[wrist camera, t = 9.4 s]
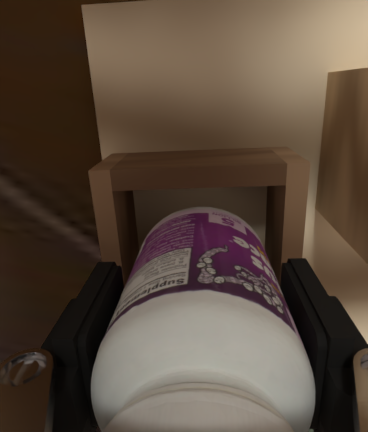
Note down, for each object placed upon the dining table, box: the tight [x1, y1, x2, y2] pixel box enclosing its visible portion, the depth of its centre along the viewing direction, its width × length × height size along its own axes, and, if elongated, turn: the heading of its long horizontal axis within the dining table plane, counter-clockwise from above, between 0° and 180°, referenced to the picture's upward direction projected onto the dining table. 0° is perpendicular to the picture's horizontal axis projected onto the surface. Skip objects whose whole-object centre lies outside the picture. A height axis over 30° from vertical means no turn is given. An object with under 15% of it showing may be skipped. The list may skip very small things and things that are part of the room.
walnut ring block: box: [88, 147, 310, 288], centre depth 15 cm, size 8×8×4 cm
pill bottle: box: [91, 207, 315, 432], centre depth 10 cm, size 5×5×10 cm
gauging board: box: [81, 0, 368, 432], centre depth 17 cm, size 24×18×3 cm
